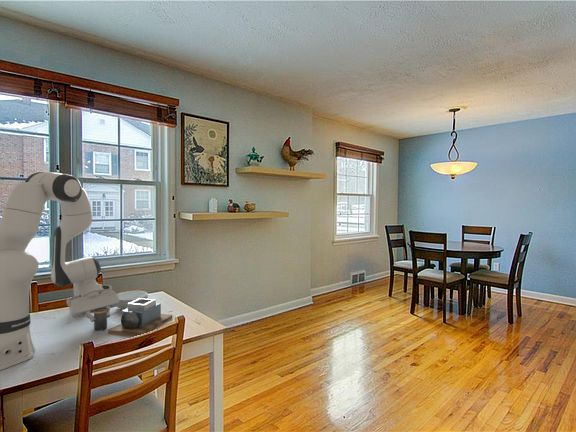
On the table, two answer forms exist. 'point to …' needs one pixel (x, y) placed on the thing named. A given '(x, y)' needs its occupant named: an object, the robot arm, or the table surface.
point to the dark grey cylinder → (100, 319)
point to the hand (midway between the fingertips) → (101, 318)
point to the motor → (140, 318)
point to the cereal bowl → (130, 298)
